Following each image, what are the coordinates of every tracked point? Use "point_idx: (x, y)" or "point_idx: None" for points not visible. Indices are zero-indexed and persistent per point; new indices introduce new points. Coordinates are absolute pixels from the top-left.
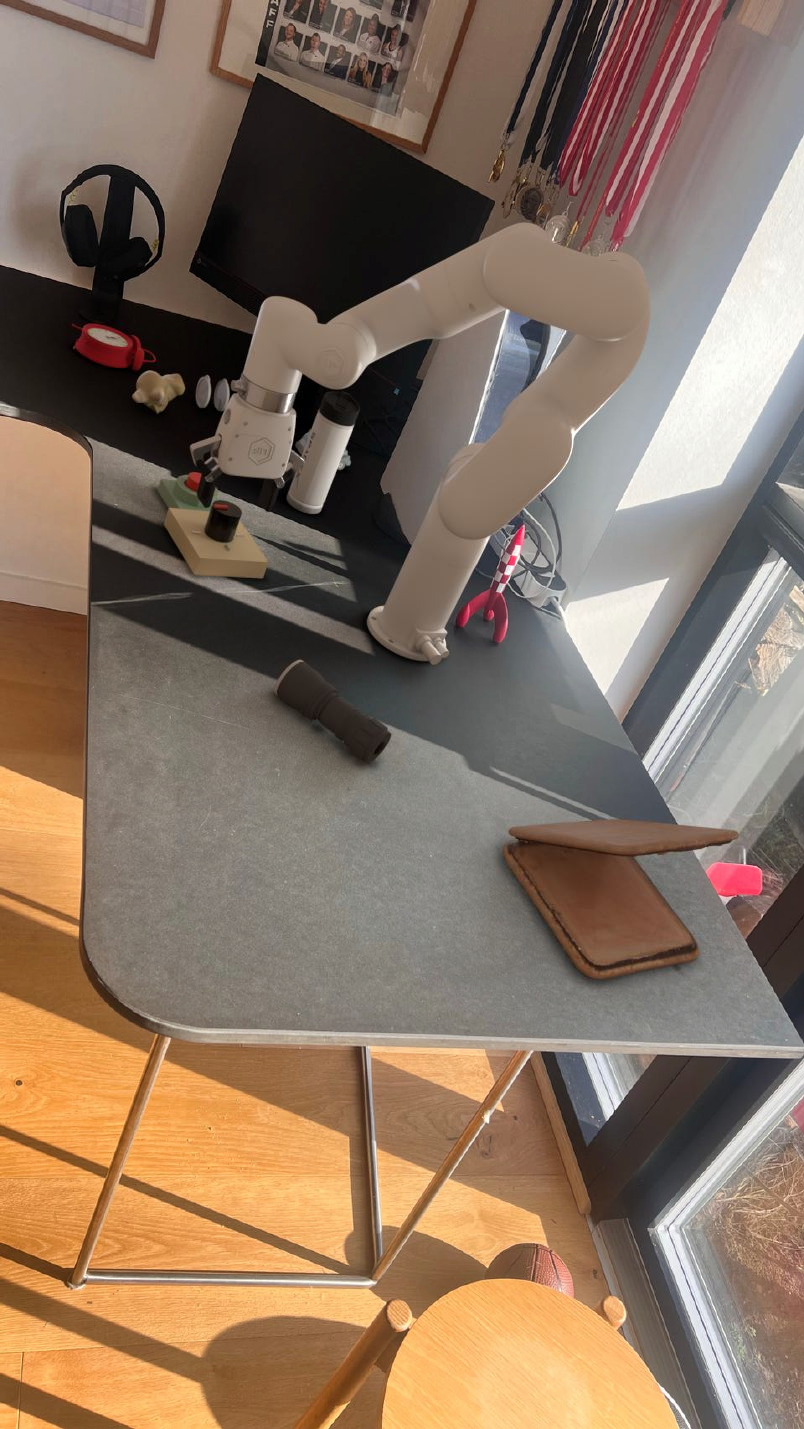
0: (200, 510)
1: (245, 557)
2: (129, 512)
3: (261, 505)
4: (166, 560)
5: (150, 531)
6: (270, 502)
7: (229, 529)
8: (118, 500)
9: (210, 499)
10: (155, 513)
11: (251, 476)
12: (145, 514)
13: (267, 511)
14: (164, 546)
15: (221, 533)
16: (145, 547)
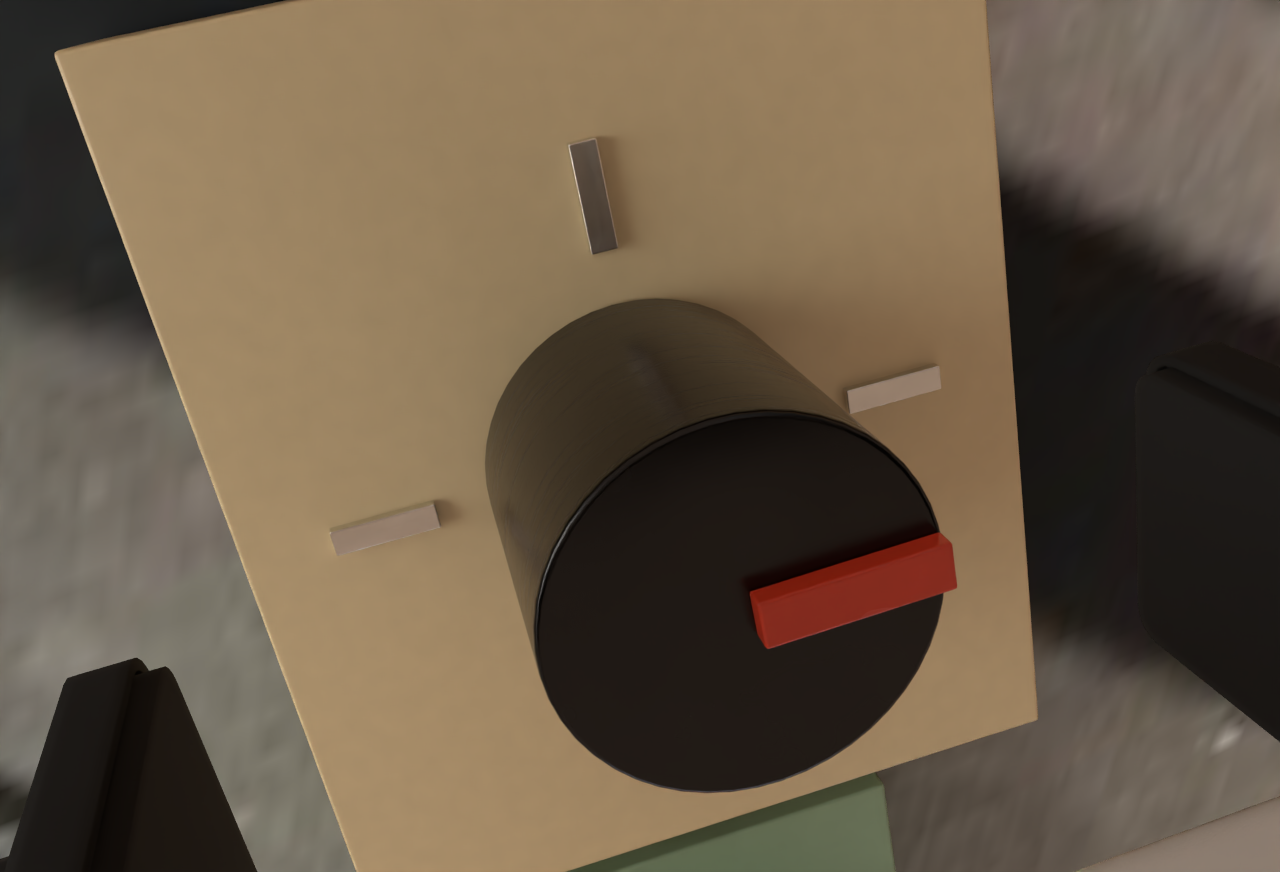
0: (699, 864)
1: (387, 61)
2: (1165, 683)
3: (230, 816)
4: (1071, 77)
5: (1082, 491)
6: (105, 776)
7: (647, 356)
8: (1196, 797)
9: (1278, 391)
10: (975, 760)
11: (1149, 849)
12: (1055, 712)
13: (136, 658)
14: (1028, 308)
15: (708, 328)
16: (1190, 230)
